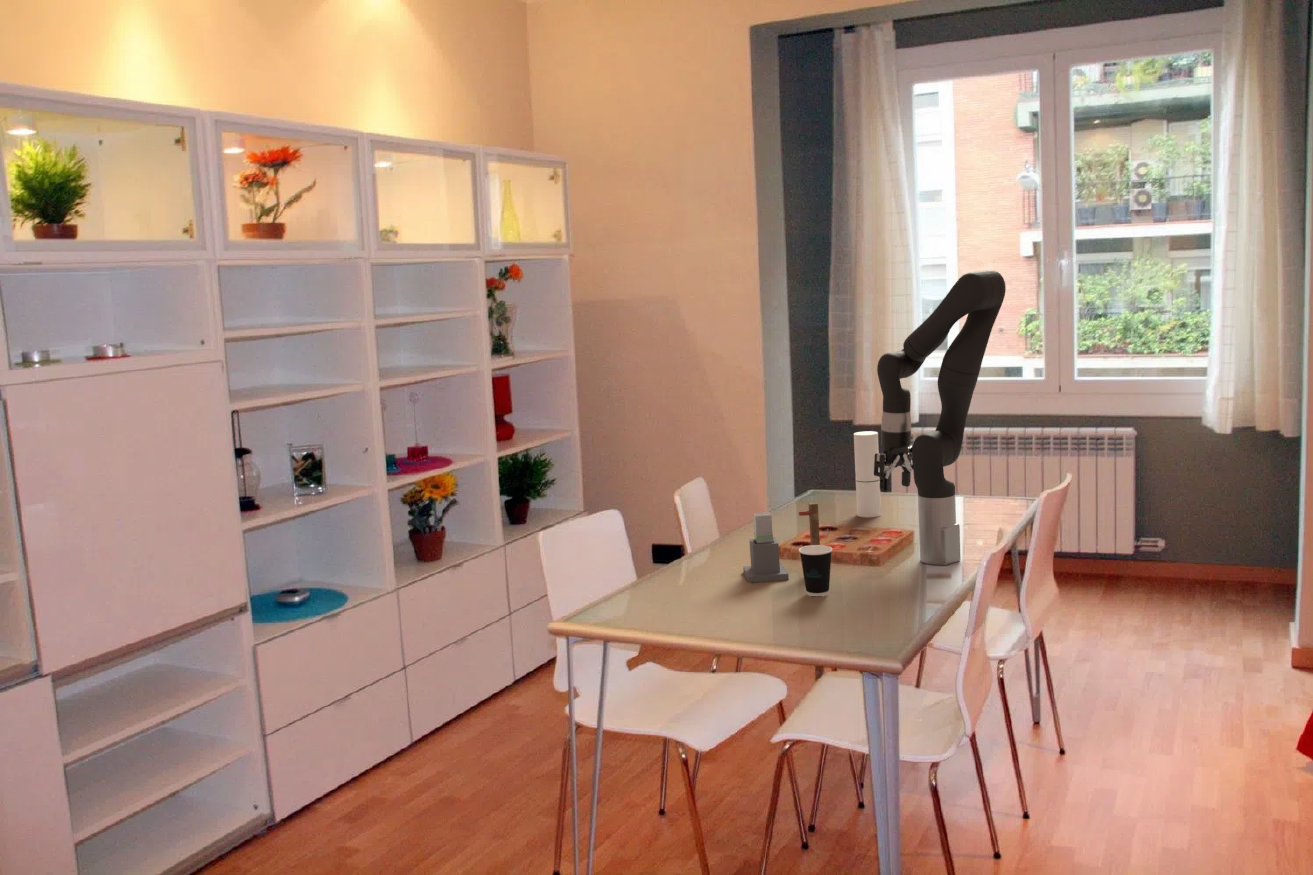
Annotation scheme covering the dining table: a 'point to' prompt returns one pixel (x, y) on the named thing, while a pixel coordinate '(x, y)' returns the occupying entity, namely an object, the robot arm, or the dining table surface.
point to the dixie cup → (816, 568)
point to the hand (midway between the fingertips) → (895, 488)
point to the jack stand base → (765, 563)
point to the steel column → (763, 528)
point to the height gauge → (813, 522)
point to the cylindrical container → (866, 474)
